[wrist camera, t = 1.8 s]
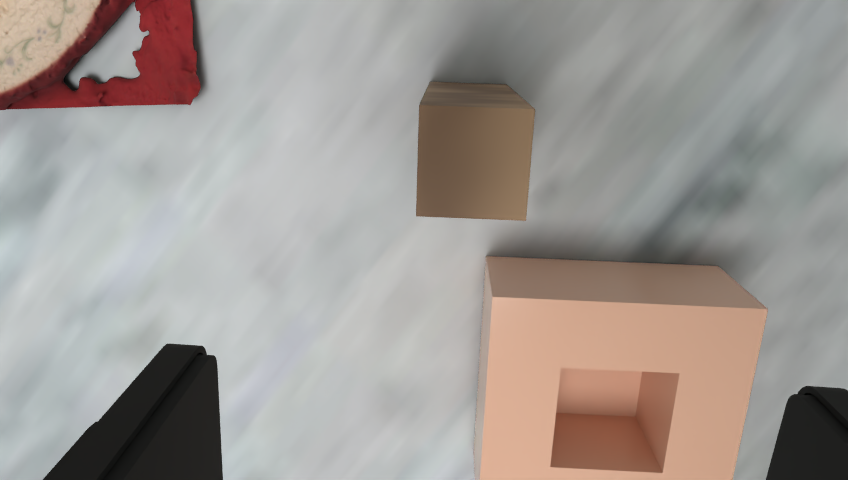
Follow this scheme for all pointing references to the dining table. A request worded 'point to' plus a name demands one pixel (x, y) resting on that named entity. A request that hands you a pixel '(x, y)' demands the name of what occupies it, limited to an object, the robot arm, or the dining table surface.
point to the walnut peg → (474, 152)
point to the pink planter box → (612, 370)
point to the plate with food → (75, 35)
